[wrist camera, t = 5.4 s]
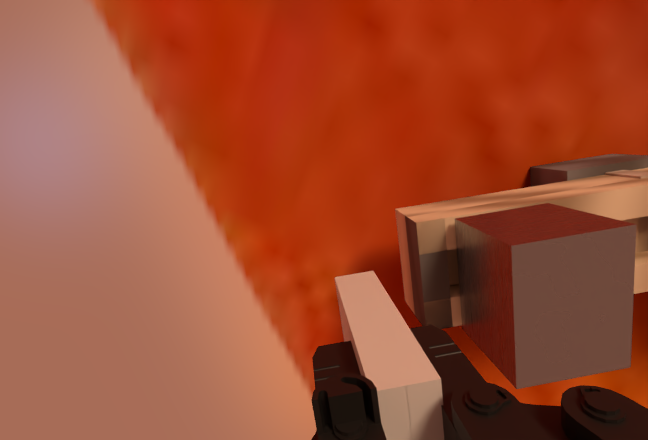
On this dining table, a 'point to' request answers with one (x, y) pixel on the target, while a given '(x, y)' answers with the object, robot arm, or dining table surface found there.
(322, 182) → the dining table surface
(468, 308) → the block
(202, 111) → the dining table surface
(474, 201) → the beam
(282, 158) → the dining table surface
